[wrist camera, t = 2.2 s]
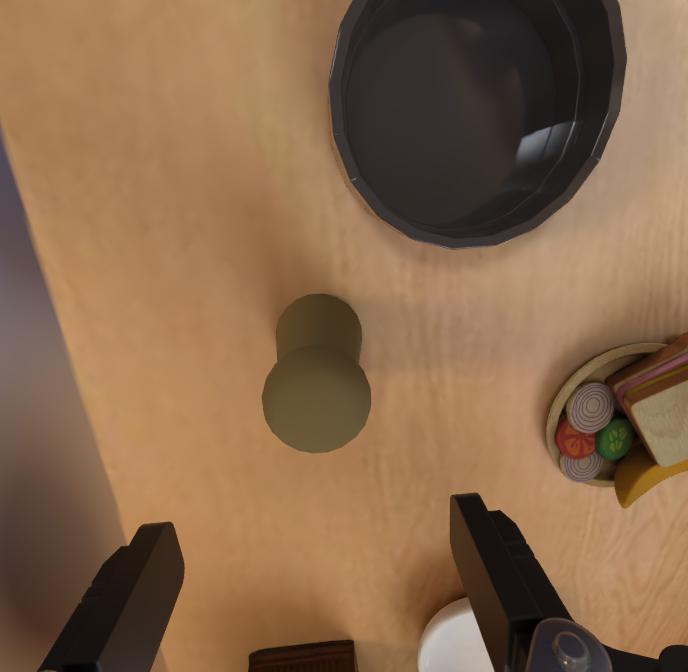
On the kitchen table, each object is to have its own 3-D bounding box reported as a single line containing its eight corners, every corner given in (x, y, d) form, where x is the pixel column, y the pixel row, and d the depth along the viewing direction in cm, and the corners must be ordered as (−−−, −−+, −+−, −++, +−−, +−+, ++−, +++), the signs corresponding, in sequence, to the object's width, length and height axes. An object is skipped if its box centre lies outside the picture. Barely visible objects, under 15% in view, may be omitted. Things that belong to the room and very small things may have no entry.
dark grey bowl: (339, 248, 26) (342, 259, 21) (317, -21, 21) (315, -85, 16) (552, 230, 26) (603, 236, 21) (577, -40, 21) (650, -108, 17)
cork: (314, 275, 26) (308, 325, 16) (379, 331, 28) (413, 410, 17) (258, 339, 27) (218, 424, 17) (323, 390, 29) (323, 496, 19)
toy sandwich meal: (516, 386, 30) (550, 419, 25) (690, 300, 28) (760, 319, 24) (566, 500, 34) (603, 546, 29) (722, 430, 32) (786, 468, 27)
